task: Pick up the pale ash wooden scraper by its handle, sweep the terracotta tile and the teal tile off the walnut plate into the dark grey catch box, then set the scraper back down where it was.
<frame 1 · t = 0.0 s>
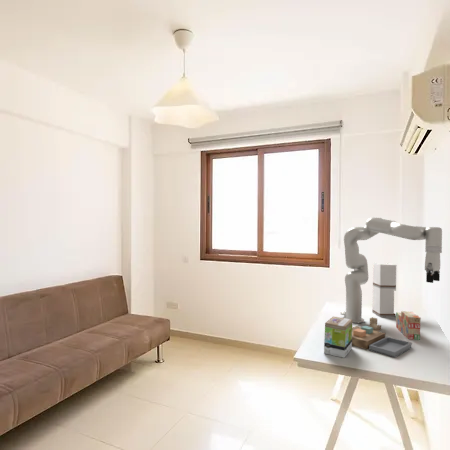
hand: (432, 281, 181), 31 cm above the table, tool pointing down, fingers open, 9 cm apart
terracotta tile: (359, 335, 174), point 4 cm above the table, touching walnut plate
display case: (383, 315, 230), on the table
teal tile: (367, 332, 179), point 4 cm above the table, touching walnut plate
walnut plate: (361, 340, 177), on the table
tea box: (338, 351, 162), on the table
catch box: (390, 348, 166), on the table
scraper: (373, 332, 192), on the table
stack of blocks: (407, 333, 191), on the table
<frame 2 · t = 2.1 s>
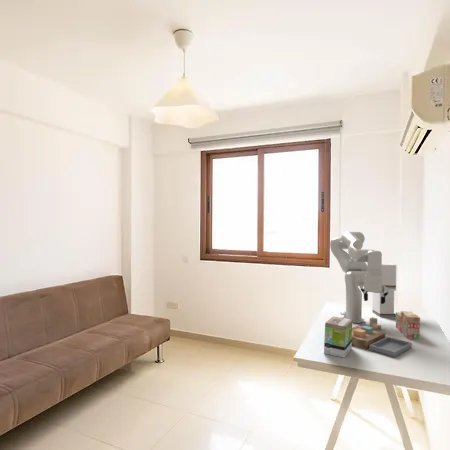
hand: (374, 302, 192), 17 cm above the table, tool pointing down, fingers open, 9 cm apart
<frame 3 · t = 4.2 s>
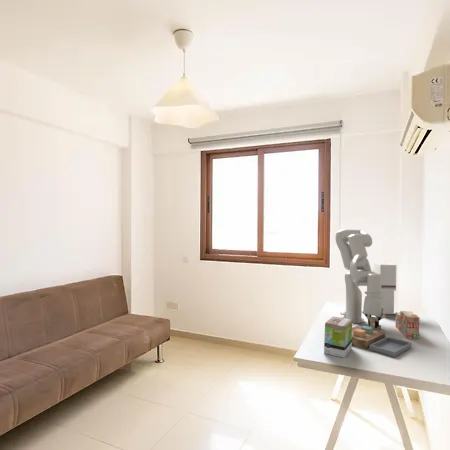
hand: (373, 326, 192), 3 cm above the table, tool pointing down, fingers closed on scraper, 3 cm apart
scraper: (373, 331, 192), on the table, touching gripper
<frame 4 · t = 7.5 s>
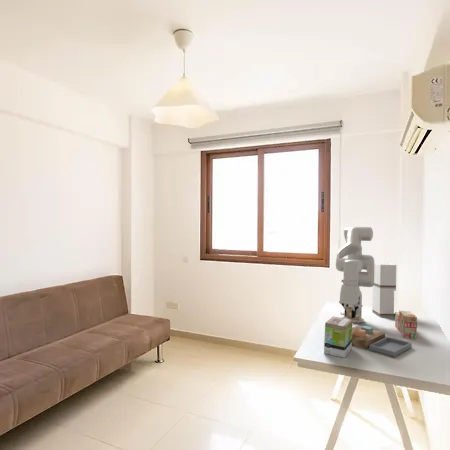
hand: (350, 316, 182), 11 cm above the table, tool pointing down, fingers closed on scraper, 3 cm apart
scraper: (350, 321, 181), point 9 cm above the table, touching gripper
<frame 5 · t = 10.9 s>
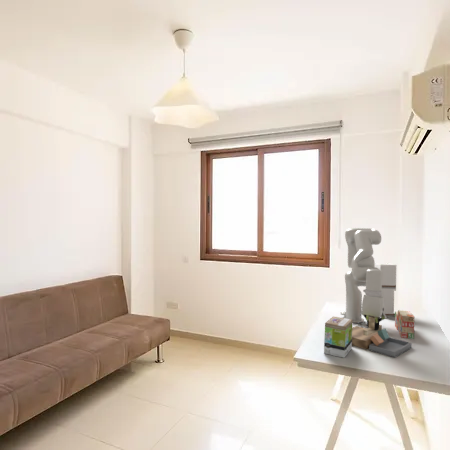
hand: (372, 328, 172), 8 cm above the table, tool pointing down, fingers closed on scraper, 3 cm apart
terracotta tile: (375, 341, 167), point 3 cm above the table, tilted 39°
teal tile: (381, 334, 173), point 5 cm above the table, tilted 63°, touching catch box
scraper: (372, 332, 172), point 6 cm above the table, touching gripper
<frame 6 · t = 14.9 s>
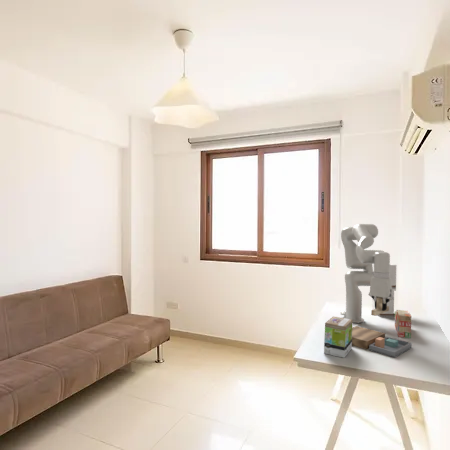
hand: (380, 309, 178), 16 cm above the table, tool pointing down, fingers closed on scraper, 3 cm apart
terracotta tile: (377, 342, 167), point 3 cm above the table, tilted 90°, touching catch box
teal tile: (391, 340, 169), point 3 cm above the table, tilted 180°, touching catch box
scraper: (380, 312, 178), point 15 cm above the table, touching gripper
when the fingers open (4 cm above the table, at t = 18.5 s): scraper drops 3 cm, on the table.
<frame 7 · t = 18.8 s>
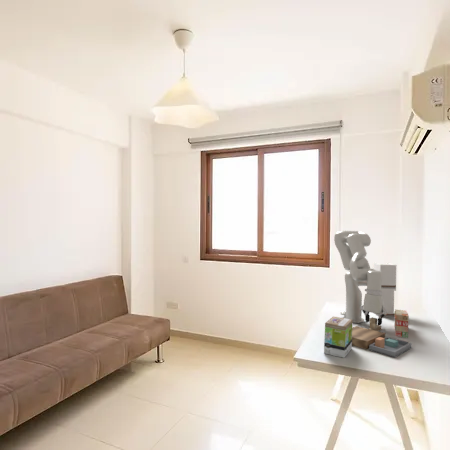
hand: (373, 323, 192), 5 cm above the table, tool pointing down, fingers open, 6 cm apart
scraper: (373, 332, 192), on the table
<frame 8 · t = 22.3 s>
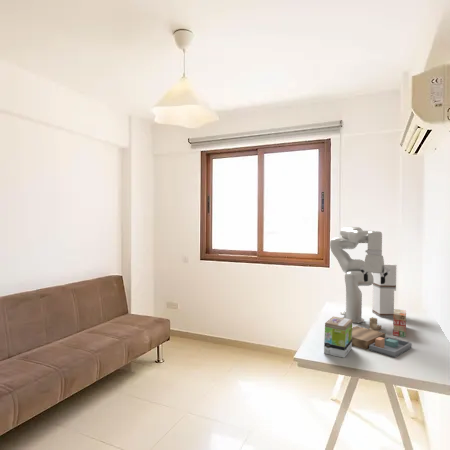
hand: (374, 282, 192), 28 cm above the table, tool pointing down, fingers open, 9 cm apart
at the end: terracotta tile inside the target area on the catch box (6.2 cm from its centre), point 2.8 cm above the catch box's base; teal tile inside the target area on the catch box (4.0 cm from its centre), point 3.1 cm above the catch box's base; the gripper is holding nothing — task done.
